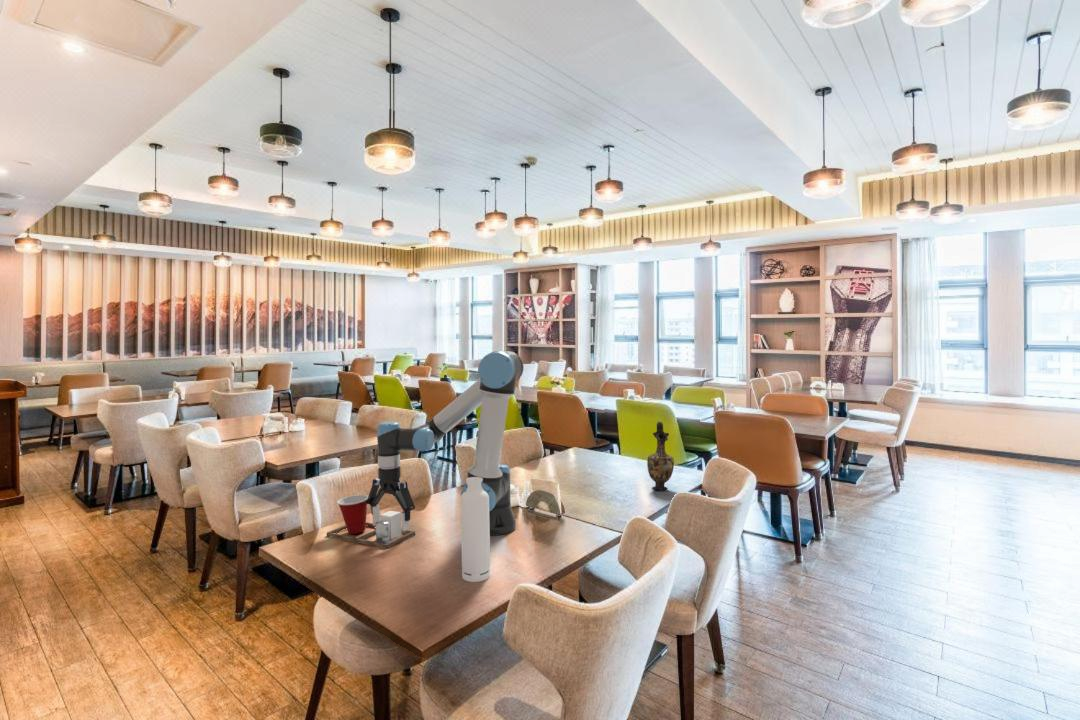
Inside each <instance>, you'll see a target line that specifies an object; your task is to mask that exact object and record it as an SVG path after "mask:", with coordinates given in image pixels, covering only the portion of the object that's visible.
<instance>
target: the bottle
mask: <svg viewBox="0 0 1080 720" xmlns="http://www.w3.org/2000/svg"><path fill="white" fill-rule="evenodd" d="M482 481H483V478H481V477H470V478H467V477H466V479H465V482H467V485H468V487H467V489H466V491H465V492H464V493H463V494H462V495H461V494H460V532H461V533H460V534H461V535H460V537H461V545H460V546H461V569H462V570H461V578H462V579H463V580H464V581H465V582H466V581H467V582H470V583H479V582H482V581H486V580H488V579H489V578H490V577H491V541H490V539H491V538H490V537H491V535H490V527H489V496H488V494H487V492H485V491H483V488H482V486H481V482H482Z"/></svg>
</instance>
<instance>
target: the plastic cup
mask: <svg viewBox="0 0 1080 720" xmlns="http://www.w3.org/2000/svg"><path fill="white" fill-rule="evenodd" d="M368 496H369V494H368V495H366V494H354V495H349V496H346V497H342V498H340V499H338V500H337V501H336V502H337V503H336V504H337V505H338V506H339V509H340V512H341V515H342V518H343V521H344V524H345V525H346V527H347V529H346V530H347V532H348V534H349V535H355V534H359V533H363V532H364V531H366V528H367V526H366V522H367V510H368V509H367V506H368V504H367V503H366V502H367V499H368Z"/></svg>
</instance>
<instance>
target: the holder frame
mask: <svg viewBox="0 0 1080 720" xmlns="http://www.w3.org/2000/svg"><path fill="white" fill-rule="evenodd" d="M366 525H368V526H367V527H369V526H373V527H372V528H374V527H376V526H374V525H373V522H367V521H366ZM346 528H347V527H346V524H345V525H342V526H340V527H337V528H335V529H333V530H332V529H331V530H330V531H327V532H326V537H329V536H332V537H331V538H334V537H336V538H335V539H338V538H340V539H339V540H343V539H344V541H349V542H354V543H358V544H363V545H366V546H367V545H368V546H371V547H376V548H382V549H387V550H388V549H390V548H392V547H394V546H395V545H398V544H400V543H402V542H403V541H406V540H408V539H410V538H412V537H413V536H415V535H416V531H414V530H410V529H408V530H406V531H402V528H401V532H402V534H404V535H401V536H399V537H396V539H395V538H394V539H392V540H390V542H389V543H387V544H382V543H377V542H376V541H371V540H368V539H369V538H371V537H373V536H376V529H375V530H373V531H370V532H367V533H366V534H363V535H360V536H359V537H352V536H349V535H348V536H347V535H343V534H338V533H340V532H339V531H341V530H343V529H346ZM346 530H347V529H346ZM343 531H344V530H343ZM336 532H338V533H336ZM341 532H342V531H341ZM334 533H336V534H334Z"/></svg>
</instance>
